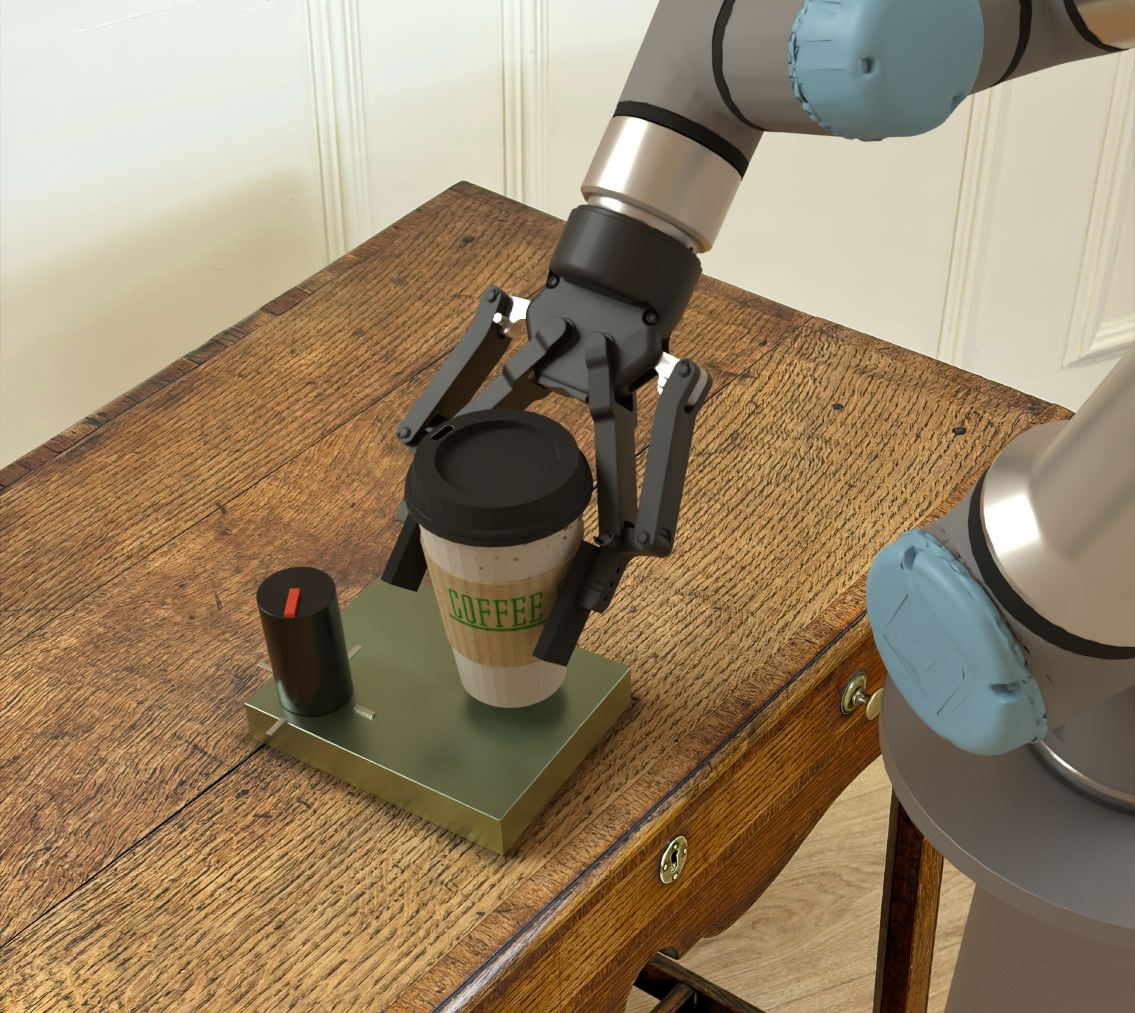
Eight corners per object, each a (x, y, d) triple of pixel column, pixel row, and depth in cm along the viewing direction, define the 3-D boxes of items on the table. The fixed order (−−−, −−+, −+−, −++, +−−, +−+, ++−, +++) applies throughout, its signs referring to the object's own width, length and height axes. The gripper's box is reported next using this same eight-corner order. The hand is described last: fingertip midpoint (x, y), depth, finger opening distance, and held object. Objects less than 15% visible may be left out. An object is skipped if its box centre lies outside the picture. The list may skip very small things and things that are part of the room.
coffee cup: (527, 756, 87) (511, 542, 76) (392, 684, 91) (359, 471, 80) (631, 656, 92) (631, 441, 81) (500, 592, 96) (482, 380, 86)
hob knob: (284, 663, 95) (261, 562, 89) (357, 663, 95) (339, 561, 89) (272, 715, 92) (248, 614, 86) (348, 716, 92) (329, 614, 86)
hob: (631, 703, 96) (631, 665, 94) (490, 872, 87) (486, 835, 85) (375, 598, 103) (369, 560, 101) (221, 744, 95) (210, 706, 92)
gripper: (850, 318, 81) (670, 714, 84) (507, 199, 91) (357, 558, 94) (804, 268, 75) (610, 700, 78) (439, 146, 84) (280, 534, 87)
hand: (472, 622), depth 86 cm, fingers closed on coffee cup, 10 cm apart
